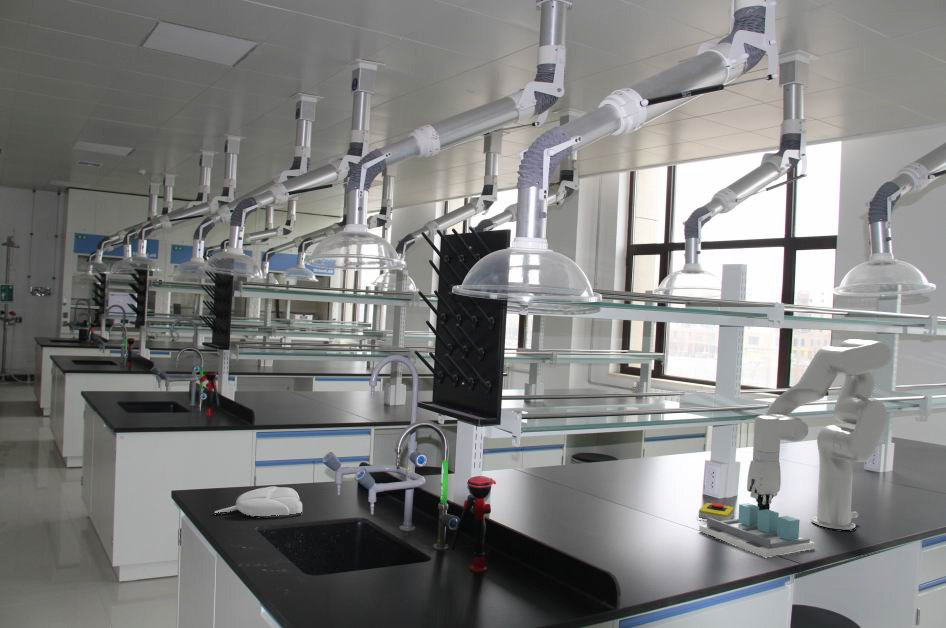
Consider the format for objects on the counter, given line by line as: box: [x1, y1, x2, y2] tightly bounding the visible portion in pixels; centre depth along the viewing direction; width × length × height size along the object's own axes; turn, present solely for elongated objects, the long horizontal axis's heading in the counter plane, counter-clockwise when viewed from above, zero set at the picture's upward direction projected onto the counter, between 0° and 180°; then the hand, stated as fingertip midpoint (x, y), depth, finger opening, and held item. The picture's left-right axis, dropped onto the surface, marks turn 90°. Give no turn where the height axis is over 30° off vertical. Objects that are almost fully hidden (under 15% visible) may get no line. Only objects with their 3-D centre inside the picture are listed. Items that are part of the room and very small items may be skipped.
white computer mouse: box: [214, 486, 303, 517], centre depth 215 cm, size 7×17×25 cm
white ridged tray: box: [698, 518, 816, 558], centre depth 209 cm, size 20×24×4 cm
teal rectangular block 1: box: [737, 503, 759, 526], centre depth 218 cm, size 4×4×6 cm
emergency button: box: [697, 502, 736, 521], centre depth 232 cm, size 9×4×15 cm
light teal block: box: [757, 509, 780, 533], centre depth 211 cm, size 4×4×6 cm
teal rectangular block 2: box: [777, 515, 800, 540], centre depth 205 cm, size 4×4×6 cm
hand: (763, 515), depth 221 cm, fingers closed
